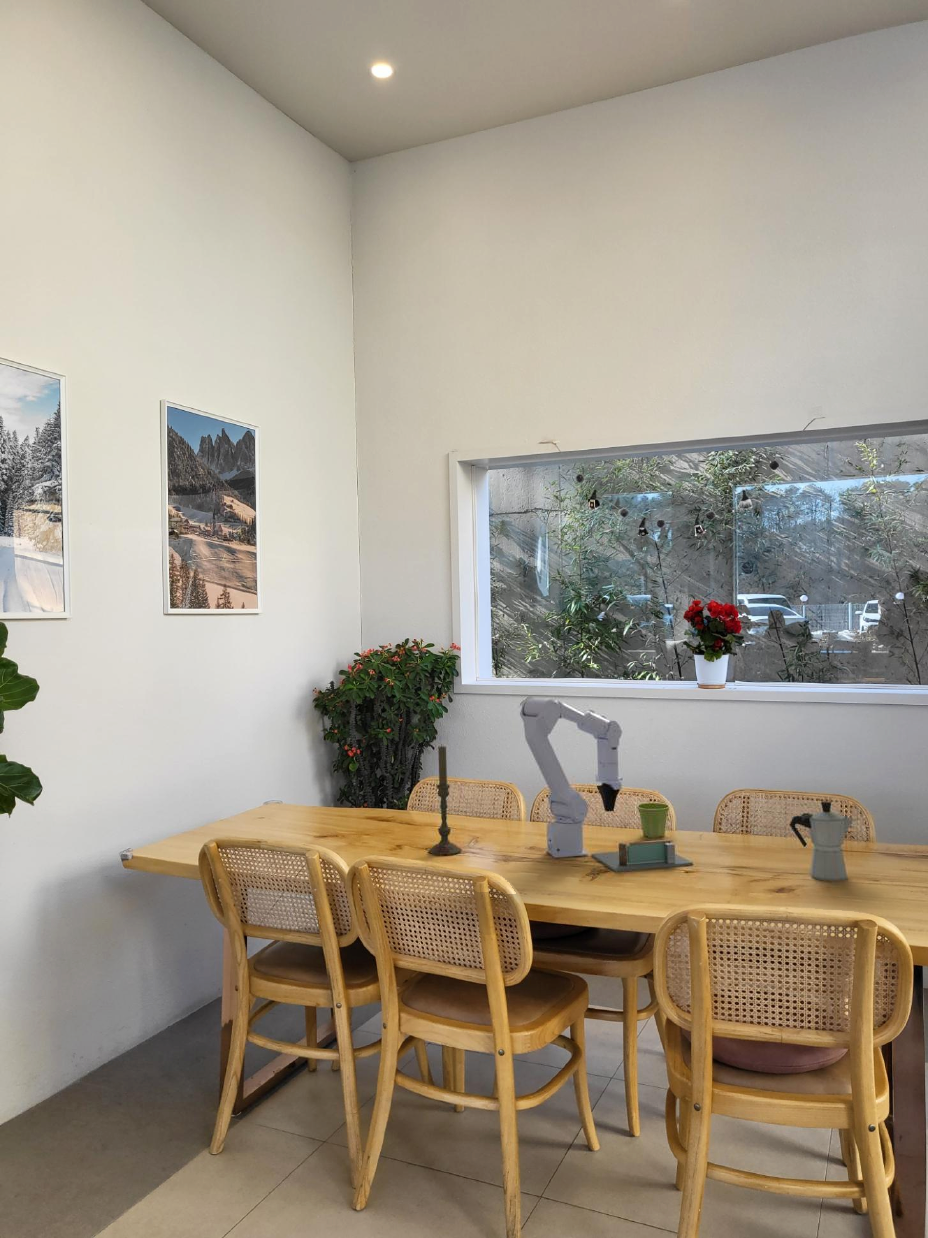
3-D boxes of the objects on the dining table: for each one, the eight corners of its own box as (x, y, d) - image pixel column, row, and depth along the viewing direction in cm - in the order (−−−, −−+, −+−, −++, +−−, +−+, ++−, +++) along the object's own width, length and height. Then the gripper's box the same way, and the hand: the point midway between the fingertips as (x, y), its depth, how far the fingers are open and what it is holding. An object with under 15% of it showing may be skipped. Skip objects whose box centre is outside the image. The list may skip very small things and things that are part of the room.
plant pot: (670, 839, 267) (669, 809, 267) (637, 839, 269) (636, 808, 269) (670, 832, 276) (669, 802, 276) (637, 831, 278) (637, 802, 278)
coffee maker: (853, 872, 228) (851, 798, 228) (860, 882, 219) (857, 805, 219) (788, 870, 231) (786, 797, 231) (793, 880, 222) (790, 804, 222)
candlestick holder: (423, 855, 257) (420, 745, 257) (435, 847, 265) (433, 741, 265) (454, 857, 254) (451, 746, 254) (466, 849, 262) (463, 742, 262)
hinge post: (621, 868, 237) (620, 845, 237) (618, 866, 239) (617, 843, 239) (628, 868, 237) (627, 844, 237) (625, 866, 239) (624, 842, 239)
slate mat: (615, 872, 234) (615, 869, 234) (591, 856, 250) (591, 853, 250) (692, 865, 239) (692, 862, 239) (664, 849, 255) (664, 847, 255)
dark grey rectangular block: (668, 866, 238) (667, 845, 238) (664, 864, 240) (664, 843, 240) (675, 865, 238) (674, 844, 238) (671, 864, 240) (671, 842, 240)
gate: (629, 863, 238) (628, 843, 238) (627, 862, 239) (626, 842, 239) (673, 859, 240) (672, 840, 240) (671, 858, 241) (670, 839, 241)
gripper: (631, 765, 257) (632, 814, 257) (611, 758, 271) (612, 805, 271) (607, 767, 255) (608, 816, 255) (588, 759, 269) (589, 806, 269)
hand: (609, 811), depth 263 cm, fingers closed
